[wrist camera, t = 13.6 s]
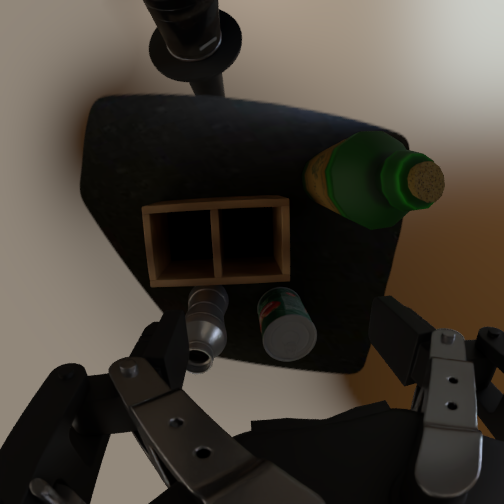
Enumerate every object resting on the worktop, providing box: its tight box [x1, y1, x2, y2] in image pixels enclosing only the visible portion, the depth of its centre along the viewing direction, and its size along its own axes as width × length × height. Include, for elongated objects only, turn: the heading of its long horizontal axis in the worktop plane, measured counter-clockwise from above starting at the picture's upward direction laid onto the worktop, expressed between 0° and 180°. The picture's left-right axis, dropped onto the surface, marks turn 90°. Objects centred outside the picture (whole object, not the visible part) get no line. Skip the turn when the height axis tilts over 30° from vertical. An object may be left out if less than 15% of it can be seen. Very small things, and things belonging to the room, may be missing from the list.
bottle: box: [301, 131, 445, 230], centre depth 32 cm, size 11×11×28 cm
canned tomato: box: [257, 287, 317, 361], centre depth 45 cm, size 8×8×11 cm
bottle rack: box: [142, 195, 290, 287], centre depth 42 cm, size 11×19×10 cm, turn 92°
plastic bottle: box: [185, 285, 229, 374], centre depth 40 cm, size 6×7×20 cm
